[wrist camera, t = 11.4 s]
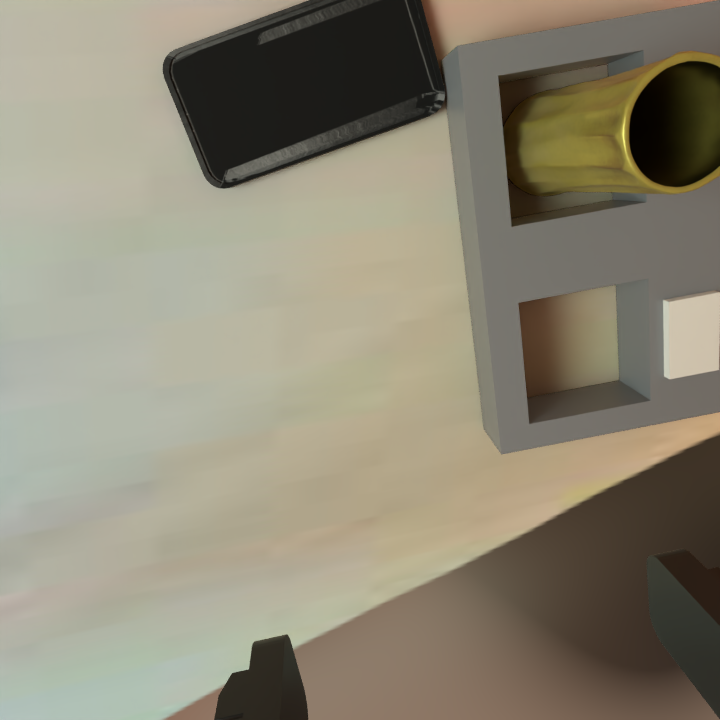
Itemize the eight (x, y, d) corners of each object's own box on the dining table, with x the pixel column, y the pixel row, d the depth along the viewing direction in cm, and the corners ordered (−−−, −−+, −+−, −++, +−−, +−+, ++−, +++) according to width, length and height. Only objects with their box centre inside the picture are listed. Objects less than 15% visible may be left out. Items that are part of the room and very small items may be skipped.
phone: (449, 108, 35) (211, 194, 35) (445, 110, 36) (214, 193, 36) (410, -40, 32) (154, 54, 33) (407, -33, 33) (159, 58, 34)
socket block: (441, 60, 34) (460, 43, 30) (688, 17, 35) (742, -6, 30) (483, 429, 42) (504, 458, 37) (687, 389, 42) (731, 414, 38)
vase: (614, 139, 37) (793, 116, 23) (545, 216, 38) (677, 237, 24) (548, 68, 35) (698, -2, 21) (478, 150, 36) (578, 133, 23)
